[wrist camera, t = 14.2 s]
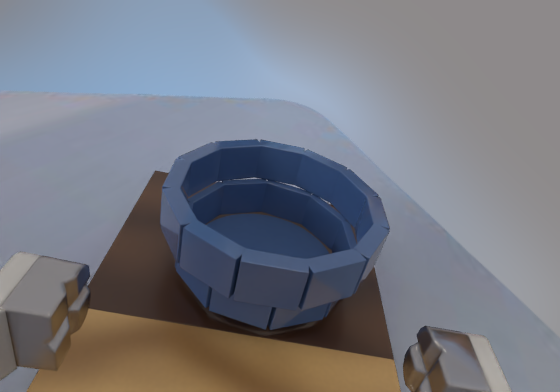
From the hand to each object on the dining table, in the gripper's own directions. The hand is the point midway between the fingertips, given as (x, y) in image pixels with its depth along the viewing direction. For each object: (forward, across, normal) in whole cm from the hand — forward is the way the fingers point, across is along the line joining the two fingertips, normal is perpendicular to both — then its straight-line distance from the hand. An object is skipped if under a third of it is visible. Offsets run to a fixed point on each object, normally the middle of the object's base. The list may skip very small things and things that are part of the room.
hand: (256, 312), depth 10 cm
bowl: (+14, -1, +12) cm, 18 cm away
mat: (+16, 0, +12) cm, 20 cm away
